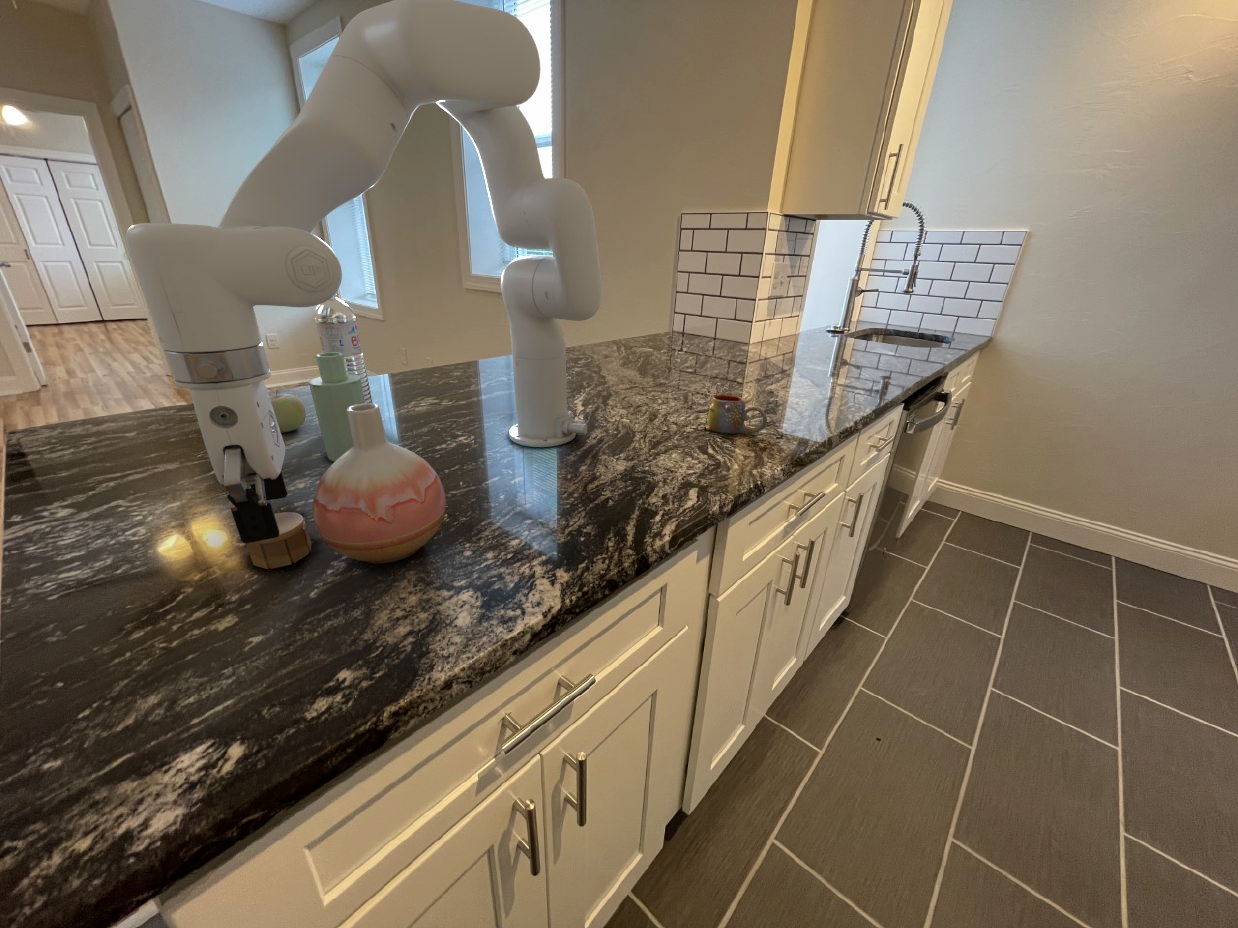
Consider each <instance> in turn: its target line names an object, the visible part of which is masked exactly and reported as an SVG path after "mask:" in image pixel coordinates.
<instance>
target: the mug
mask: <svg viewBox="0 0 1238 928" xmlns="http://www.w3.org/2000/svg"><path fill="white" fill-rule="evenodd" d="M708 409H709V410H708V413H707V414H708V415H707V426H706V430H707V431H713V432H715V433H720V434H728V435H729V434H730V435H731V434H745V435H747V434H749V435H750V434H756V433H759V432H761V431H763V430H764V428H765V427H766V426H767V423H768V416H767V414H766V411H764V410H763V409H762V408H761V407H760V406H750V407H748V408H746V401H745V400H744V399H743V398H742V397H741V396H739V395H732V394H731V395H730V394H714V395H712V396H711V405H710V406H709V408H708ZM752 411H756V412H758V413H759V414H760V415H761V417H762V422H761V423H760V424H759V425H757V427H747V426H746V424H745V422H746V421H749V420H750V415H749V414H748V413H749V412H752Z"/></svg>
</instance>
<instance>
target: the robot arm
mask: <svg viewBox="0 0 1238 928" xmlns="http://www.w3.org/2000/svg"><path fill="white" fill-rule="evenodd" d="M540 78H541V59H540V54H539V51H538V47H537V44H536V41H535V40H534V37H533V35H532V34H531V31H529V29H528V28H527V27H526V25H525V24H524V23H523V22H522V21H521V20H520V19H519V18H518V17H516V16H515V15H513V14H511V13H509V12H508V11H505V10H501V9H498V8H494V7H493V8H492V7H488V6H483V5H477V4H474V3H473V4H472V3H468V2H464V1H460V0H390V1H387V2H384V3H381V4H379V5H375V6H372V7H370V8H367V9H365V10H362V11H360V12H358V13H357V14H356V15H355V16H354V17H352V18H351V19H350V21H349V22H348V23H347V24H346V26H345V28H344V29H343V31H342V32H341V34H340V35H339V38H338V40H337V42H336V44H335V46H334V48H333V49H332V51H331V54H330V55H329V57H328V59H327V60H326V63H325V65H324V66H323V69H322V70H321V73H320V74H319V75H318V78H317V80H316V81H315V83H314V85H313V88H312V89H311V91H310V93H309V95H308V96H307V99H306V101H305V102H304V105H302V108H301V110H300V111H299V113H298V114H297V116H296V117H295V119H294V121H293V122H292V123H291V124H290V125H289V126H288V128H286V129H285V131H284V132H283V133H282V134H281V135H280V136H279V137H278V139H276V141H275V143H274V144H273V145H272V146H271V147H270V149H269V150H268V151H267V152H266V154H265V155H264V156H263V157H262V158H261V159H260V160H259V161H258V162H257V163H256V165H255V166H254V167H253V168H252V169H251V170H250V172H249V173H248V174H247V176H246V177H245V178H244V180H243V181H242V182H241V184H240V185H239V187H238V188H237V190H236V192H235V194H234V195H233V197H232V199H231V201H230V202H229V204H228V206H227V208H226V210H225V212H224V214H223V215H222V216H221V217H222V218H221V219H220V220H219V223H218V225H217V226H212V225H204V224H192V223H191V224H187V223H167V222H166V223H165V222H164V223H163V222H143V223H137V224H134V225H131V226H130V227H129V228H128V229H127V230H126V232H125V242H126V246H127V249H128V252H129V256H130V259H131V262H132V264H133V267H134V270H135V272H136V276H137V278H138V281H139V283H140V284H139V285H140V287H141V290H142V293H143V296H144V299H145V301H146V304H147V307H148V310H149V313H150V316H151V319H152V322H153V325H154V327H155V328H154V329H155V330H156V333H157V336H158V339H159V342H160V344H161V348H162V349H163V353H164V357H165V360H166V362H167V365H168V368H169V371H170V374H171V377H172V379H173V382H174V385H175V386H176V387H177V388H181V389H186V390H189V392H190V395H191V400H192V403H193V409H194V410H193V411H194V412H195V415H196V419H197V424H198V426H199V429H200V433H201V436H202V439H203V443H204V447H205V449H206V452H207V455H208V459H209V462H210V465H211V467H212V469H213V472H214V475H215V477H216V479H217V481H218V483H219V484H221V485H223V486H224V488H225V490H226V491H227V494H226V495H227V496H226V497H227V500H228V503H229V509H230V511H231V514H232V517H233V520H234V523H235V526H236V529H237V532H238V535H239V538H240V541H241V543H243V544H246V543H251V542H256V541H261V540H266V539H272V538H276V537H278V536H279V533H280V532H279V528H278V525H277V521H276V518H275V515H274V514H275V512H274V507H273V505H272V501H274V500H279V499H285V498H287V496H288V490H287V486H286V483H285V480H284V475H283V471H282V469H283V465H284V461H285V456H286V445H285V442H284V441H285V440H284V438H283V435H282V433H281V432H280V429H279V426H278V422H277V419H276V416H275V413H274V410H273V407H272V403H271V400H270V394H269V392H268V389H267V387H266V384H265V380H267V379H268V380H269V378H271V376H272V374H271V370H270V365H269V362H268V358H267V355H266V350H265V346H264V343H263V339H262V335H261V332H260V327H259V324H258V321H257V317H256V313H255V309H254V307H255V306H269V307H270V306H271V307H286V308H287V307H288V308H311V307H315V306H316V307H317V306H318V305H319V304H322V303H324V302H326V301H327V300H329V299H330V298H332V297H333V296H334V295H335V293H336V294H337V292H338V291H339V289H340V286H341V284H342V279H343V278H342V277H343V273H342V272H343V270H342V266H341V263H340V260H339V258H338V256H337V254H336V253H335V251H334V250H333V249H332V248H331V246H329V244H327V242H325V241H324V240H323V239H321V238H320V237H318V236H317V235H315V234H314V233H312V232H313V231H314V229H315V228H316V227H317V226H318V225H319V224H320V222H321V221H322V220H324V219H325V218H326V217H327V216H328V215H329V214H330V213H332V212H333V211H334V210H336V209H338V208H339V207H341V206H342V205H344V204H346V203H348V202H350V201H352V200H354V199H356V198H358V197H359V196H361V195H363V194H364V193H365V192H368V190H370V189H371V188H372V187H374V186H375V185H376V184H377V183H378V182H379V181H380V180H381V179H382V177H383V176H384V174H385V172H386V170H387V168H388V166H389V163H390V162H391V159H392V157H393V155H394V152H395V150H396V148H397V146H398V144H399V142H400V141H401V139H402V136H403V135H404V133H405V130H406V128H407V127H408V124H409V123H410V120H411V119H412V117H413V115H414V113H415V111H416V110H417V109H418V108H419V107H421V106H423V105H429V104H434V103H435V104H436V105H438V107H440V108H441V109H443V110H444V111H445V112H447V113H448V115H450V116H451V117H452V118H454V120H456V122H458V123H459V125H460V126H461V127H462V128H463V129H464V130H465V132H466V133H467V134H468V136H469V137H470V139H471V141H472V143H473V144H474V146H475V150H476V152H477V154H478V158H479V162H480V165H481V169H482V172H483V177H484V181H485V185H486V190H487V195H488V199H489V203H490V208H491V213H492V215H493V219H494V220H493V221H494V223H495V227H496V231H497V233H498V235H499V237H500V239H501V240H502V241H503V243H504V244H506V245H507V246H510V247H512V248H516V249H524V250H541V251H543V250H545V251H547V250H548V251H552V254H553V256H548V255H547V256H545V255H524V256H520V257H516V258H514V259H512V260H511V261H510V262H508V264H507V265H506V266H505V267H504V269H503V271H502V274H501V278H500V291H501V292H500V293H501V297H502V300H503V301H502V302H503V305H504V308H505V312H506V317H507V321H508V327H509V334H510V344H511V346H510V347H511V361H512V373H513V387H514V388H513V389H514V401H515V403H514V404H515V416H516V424H514V425H512V427H511V428H509V431H508V435H509V439H510V440H511V441H512V442H513V443H515V444H517V445H521V446H524V447H531V448H549V447H557V446H561V445H564V444H567V443H569V442H571V441H572V440H573V439H575V438H576V436H577V435H587V433H588V428H589V427H588V424H587V422H586V420H581V419H575V418H574V417H573V411H571V410H568V385H567V379H568V378H567V344H566V343H567V342H566V338H565V335H564V332H563V329H562V327H561V325H560V322H559V321H558V320H564V321H574V322H582V321H587V320H590V319H591V318H593V317H594V316H595V315H596V314H597V312H598V311H599V309H600V306H601V303H602V297H603V279H602V271H601V270H602V269H601V260H600V253H599V245H598V237H597V235H598V234H597V228H596V220H595V214H594V209H593V206H592V203H591V201H590V198H589V195H588V194H587V192H586V191H585V189H584V188H583V187H582V186H581V185H580V184H579V183H578V182H576V181H574V180H573V179H570V178H566V177H549V178H547V177H546V178H545V177H544V176H545V175H544V173H543V168H542V165H541V164H542V163H541V160H540V155H539V151H538V146H537V142H536V137H535V135H534V132H533V130H532V127H531V125H530V123H529V122H528V120H527V118H526V117H525V115H524V113H523V112H522V111H521V109H520V108H519V107H518V106H521V105H522V104H524V103H526V102H527V101H528V100H530V99H531V98H532V97H533V95H534V94H535V92H536V90H537V88H538V85H539V84H540V83H539V82H540ZM244 474H247V476H244ZM248 486H250V487H249V488H248Z"/></svg>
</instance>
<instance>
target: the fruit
mask: <svg viewBox="0 0 1238 928" xmlns="http://www.w3.org/2000/svg"><path fill="white" fill-rule="evenodd" d="M278 393H279V390H277V389H275V394H273V395H269V397H270V400H271V403H272V407H273V410H274V413H275V416H276V419H277V422H278V426H279V429H280V432H281V434H283V433H289V432H291V431H295V430H297V429H299V428H301V427H302V426H303V425H304V423H305V421H306V417H307V411H306V407H305V404H304V403H303V401H302V400H301V399H300V398H299V397H298V396H296V395H294V394H291V393H290V394H289V393H280V394H278Z"/></svg>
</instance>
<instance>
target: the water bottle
mask: <svg viewBox="0 0 1238 928" xmlns="http://www.w3.org/2000/svg"><path fill="white" fill-rule="evenodd" d="M336 295H337V292H336V293H335V295H334V296H333V297H332V298H330V299H329V300H327V301H326V302H324V303H322V304H319V305H316V308H315V310H314V311H313V318H314V322H315V323H316V327H317V332H318V336H319V341H320V346H321V349H322V353H328V352H339V353H342V354H343V357H344V362H345V367H346V371H347V374H353V375H358V376H360V379H361V384H362V389H363V394H364V399H365V403H372V404H374V402H373V398H372V393H371V387H370V382H369V377H368V372H367V366H366V363H365V357H364V353H363V350H362V345H361V341H360V340H361V339H360V336H359V331H358V326H357V321H356V320H357V316H356V313H355V311H354V310H353V309H352V307H350V306H349V304H347V303H345V301H344V300H341V299H340V298H338V297H337V296H336Z"/></svg>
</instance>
